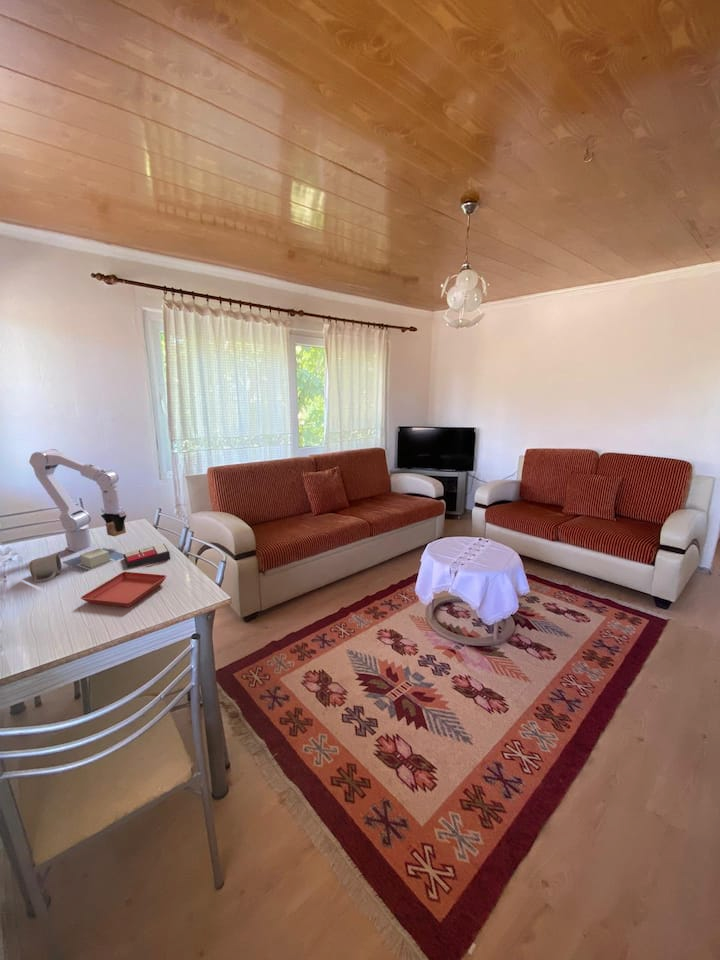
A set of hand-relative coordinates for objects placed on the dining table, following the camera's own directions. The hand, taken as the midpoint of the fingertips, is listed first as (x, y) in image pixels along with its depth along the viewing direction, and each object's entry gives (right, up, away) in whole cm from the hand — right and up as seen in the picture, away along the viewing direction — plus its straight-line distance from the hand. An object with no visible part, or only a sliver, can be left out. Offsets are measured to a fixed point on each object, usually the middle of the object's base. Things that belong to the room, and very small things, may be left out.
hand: (116, 530), depth 166 cm
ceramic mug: (-10, -14, -24) cm, 30 cm away
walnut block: (0, -2, 0) cm, 2 cm away
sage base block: (+1, -11, -14) cm, 18 cm away
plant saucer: (+27, -17, -37) cm, 49 cm away
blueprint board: (-1, -11, -11) cm, 15 cm away
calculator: (+20, -11, -11) cm, 25 cm away
